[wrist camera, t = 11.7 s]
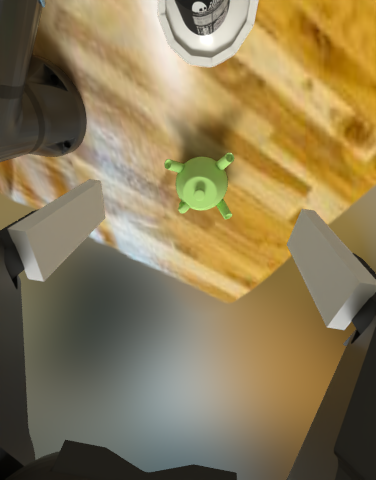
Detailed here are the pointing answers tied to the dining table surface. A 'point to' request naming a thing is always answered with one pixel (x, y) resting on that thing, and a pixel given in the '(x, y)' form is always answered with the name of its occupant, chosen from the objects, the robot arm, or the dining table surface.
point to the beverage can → (203, 14)
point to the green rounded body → (202, 183)
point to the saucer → (215, 44)
